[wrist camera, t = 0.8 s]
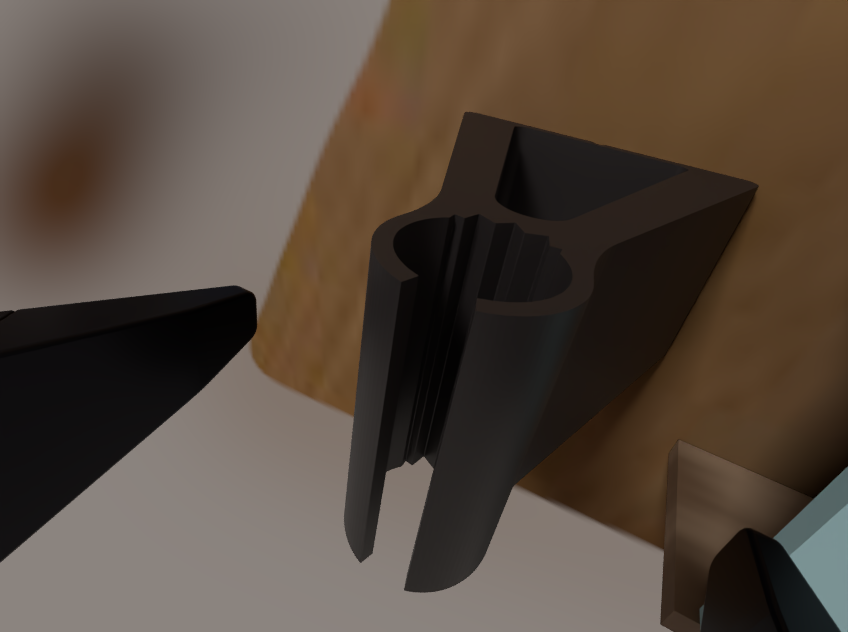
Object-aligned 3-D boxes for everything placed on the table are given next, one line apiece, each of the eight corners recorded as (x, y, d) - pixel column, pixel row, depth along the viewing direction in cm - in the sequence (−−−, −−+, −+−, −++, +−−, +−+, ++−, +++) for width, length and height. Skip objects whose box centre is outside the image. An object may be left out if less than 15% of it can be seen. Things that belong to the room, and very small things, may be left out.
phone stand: (439, 264, 19) (197, 461, 10) (469, 109, 16) (151, 179, 6) (665, 349, 16) (634, 735, 7) (758, 183, 13) (933, 489, 4)
